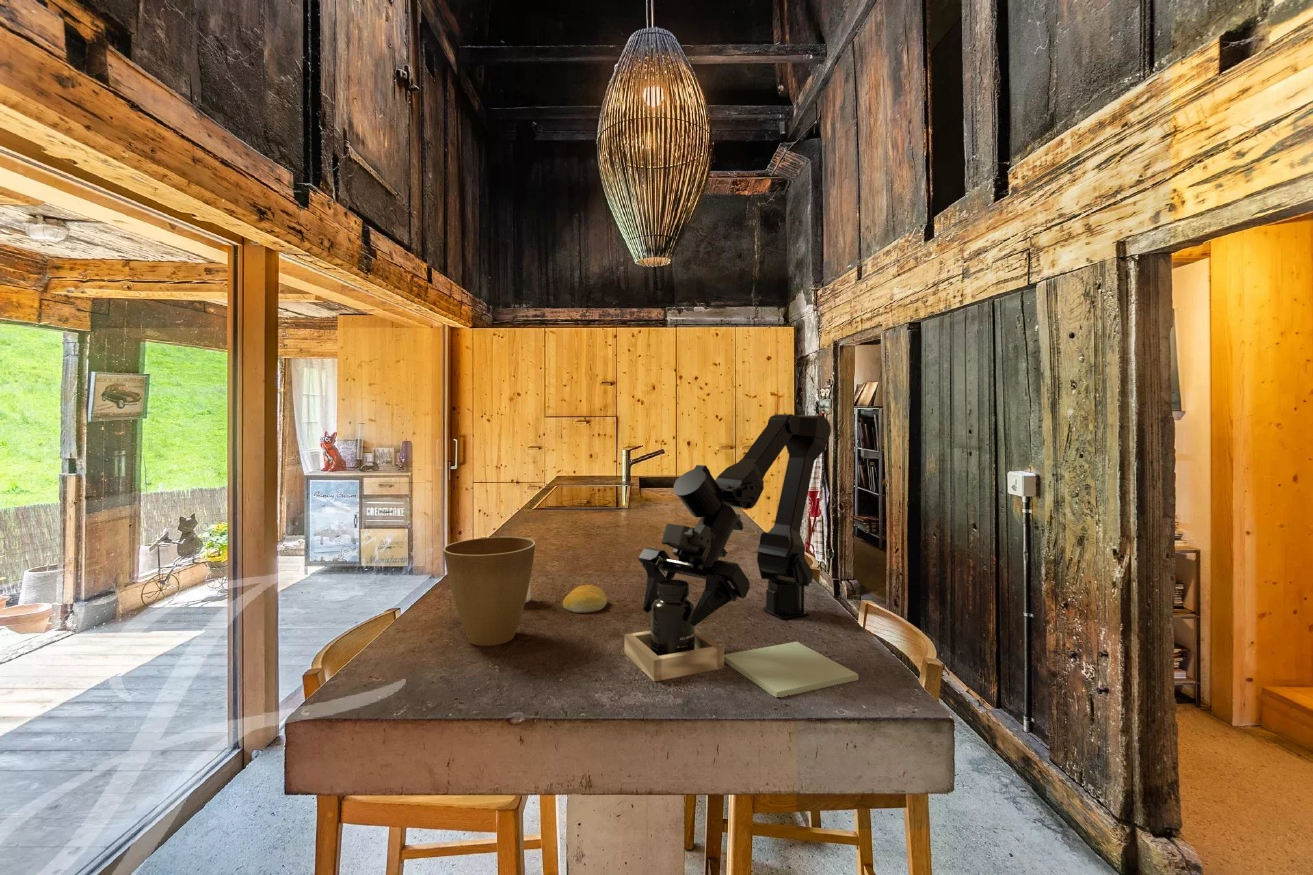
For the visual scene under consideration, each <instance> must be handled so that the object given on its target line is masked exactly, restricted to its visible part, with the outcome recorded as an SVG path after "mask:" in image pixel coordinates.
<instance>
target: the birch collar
mask: <svg viewBox="0 0 1313 875" xmlns="http://www.w3.org/2000/svg"><path fill="white" fill-rule="evenodd" d="M650 641H651V630H645V631H639V632H633V633H625V634H624V654H625V655H626V656H627V657H628V658H629V659H630V660H631V661H632V662H633V663H634V664H635V665H636V666H637V667H638V668H639V669H640V670H641V671H643V673H644V674H646V676H648V677H649V678H650V679H651V681H653V682H659V681H663V680H668V679H675V678H679V677H686V676H689V675H695V674H699V673H700V674H701V673H705V672H706V673H707V672H710V671H716V670H721V669H724V668H725V662H724V655H725V647H723V646H722V645H720V644H718V643H717V642H715V641H714V640H713V639H711V638H710V637H708V636H706V635H705V634H703V633H702V632H700V631H699V630H697V629H696V628H695V650H690V651H685V652H679V653H673V654H667V655H661V656H658V655H656V654H655V653H654V652H653V651H652V650H651V649H650Z"/></svg>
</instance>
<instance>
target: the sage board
mask: <svg viewBox="0 0 1313 875" xmlns="http://www.w3.org/2000/svg"><path fill="white" fill-rule="evenodd" d="M724 663H725V664H727V665H729V666H730V667H732V668H733V669H735V671H737V672H739V674H742V675H743V676H744V677H745V678H747V679H748V680H750V681H751V682H753V683H754V684H755V685H756V686H758V687H760V688H761V689H763V690H764V691H766V692H767V693H769V695H771V696H773V697H774V696H775V697H780V698H784V697H788V695H789V696H793V695H797V694H802V693H806V692H812V691H815V690H819V689H824V688H828V687H832V686H833V687H834V686H838V685H841V684H845V683H846V684H847V683H850V682H855V681H858V680H859V673H857V672H855V671H853V670H851V669H849V668H847V667H845V666H844V665H843V664H840V663H838V662H836V661H834V660H832V659H830V658H828V657H826V656H825V655H823V654H821V653H820V652H817V651H815V650H813V649H811V648H809V647H808V646H806V645H804V644H802V643H800V642H798V641H793V642H786V643H781V644H777V645H770V646H765V647H759V648H754V649H750V650H743V651H738V652H737V651H736V652H732V653H726V654H725V653H724ZM837 684H838V685H837ZM775 697H774V698H775Z"/></svg>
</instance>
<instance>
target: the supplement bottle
mask: <svg viewBox="0 0 1313 875" xmlns="http://www.w3.org/2000/svg"><path fill="white" fill-rule="evenodd" d="M689 588H690V583H689V582H688V581H686V580H684V579H683V580H682V579H675V578H673V579H669V580H662V581H659V582H658V591H657V595H658V596H659V598H657V599H656V600H654V602H653V603H652V605H651V610H650V631H651V641H650V649H651V650H652V651H653V652H654V653H655V654H656V655H658V656H661V655H667V654H673V653H679V652H685V651H690V650H695V629H696V626H692V625H691V623H690V620H691V617H692V614H693V612H694V610H695V608H696V606H695V603H694V602H693V601H692V600H691V599H690V598H688V597H690V589H689Z"/></svg>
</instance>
